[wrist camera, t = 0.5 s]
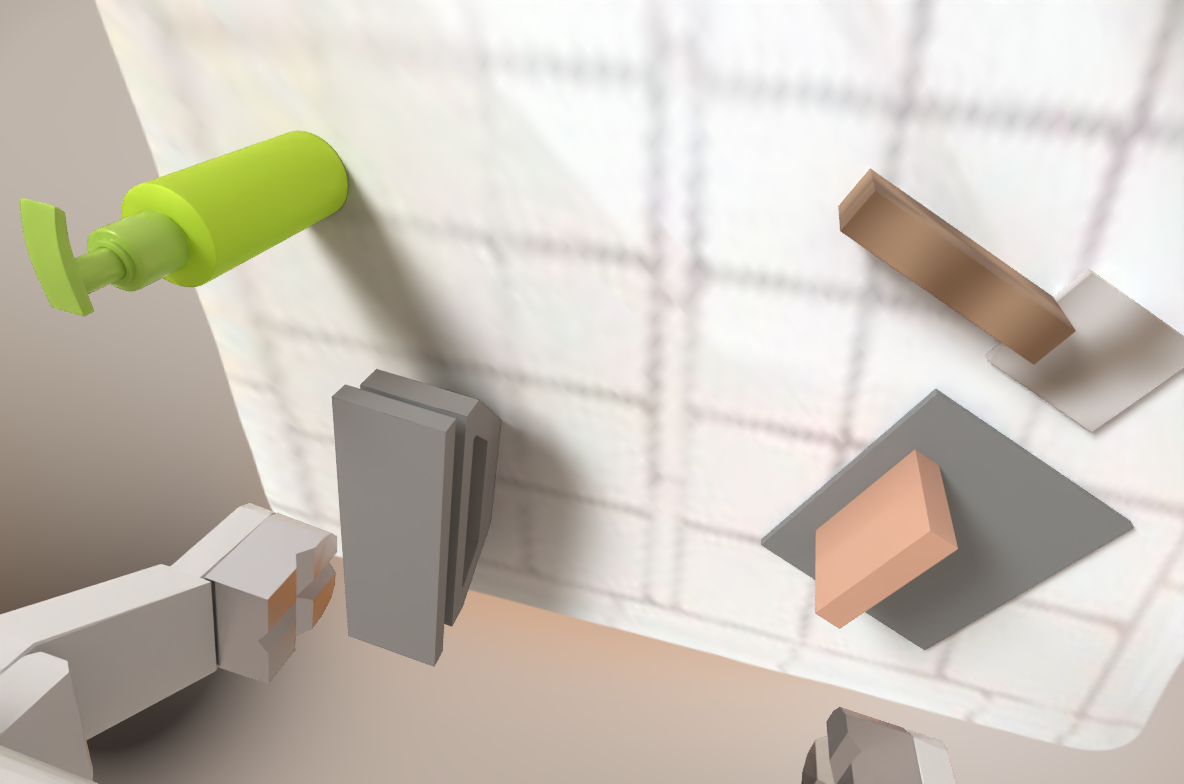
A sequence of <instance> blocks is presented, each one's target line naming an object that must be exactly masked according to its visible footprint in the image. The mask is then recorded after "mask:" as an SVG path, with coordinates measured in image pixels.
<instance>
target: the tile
mask: <svg viewBox="0 0 1184 784" xmlns="http://www.w3.org/2000/svg"><path fill="white" fill-rule="evenodd" d="M957 549H958V546H957V542H956V537H955V533H954V529H953V524H952V520H951V516H950V511H949V507H948V502H947V498H946V494H945V489H944V485H943V481H942V476H941V472H940V467H939V465H938V464H936V463H935V462H933V461H932V460H930V459H929V458H927V457H926V456H924V455H923V454H921V453H920V452H918V451H917V450H914V451H912V452H911V453H910V454H909V455H907V456H906V457H905V458H904V459H903V460H901V461H900V462H899V463H898V464H896V465H895V466H894V467H893V468H892V469H890V470H889V471H888V472H887V473H885V474H884V475H883V476H882V477H881V478H879V479H878V480H877V481H876V482H874V483H873V484H872V485H871V486H870V487H868V488H867V489H866V490H865V491H863V492H862V493H861V494H860V495H859V496H857V497H856V498H855V499H854V500H852V501H851V502H850V503H849V504H848V505H846V506H845V507H844V508H843V509H841V510H840V511H839V512H838V513H837V514H835V515H834V516H833V517H832V518H830V519H829V520H828V521H827V522H826V523H824V524H823V525H822V526H821V527H819V528H818V529H817V530H816V559H815V613H816V614H817V615H819V616H820V617H822V618H823V619H825V620H827V621H828V622H830V623H831V624H833V625H834V626H836V627H837V628H839V629H840V628H842V627H843V626H845V625H846V624H848V623H849V622H851V621H852V620H854V619H855V618H856V617H858V616H859V615H861V614H862V613H864V612H865V611H867V610H868V609H870V608H871V607H873V606H874V605H876V604H877V603H879V602H880V601H882V600H883V599H885V598H886V597H888V596H889V595H891V594H892V593H894V592H895V591H897V590H898V589H899V588H901V587H902V586H904V585H905V584H907V583H908V582H910V581H911V580H913V579H914V578H916V577H917V576H919V575H920V574H922V573H923V572H925V571H926V570H928V569H929V568H931V567H932V566H934V565H935V564H937V563H938V562H940V561H941V560H942V559H944V558H945V557H947V556H948V555H950V554H951V553H953V552H954V551H956V550H957Z"/></svg>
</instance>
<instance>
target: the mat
mask: <svg viewBox="0 0 1184 784" xmlns="http://www.w3.org/2000/svg"><path fill="white" fill-rule="evenodd" d="M914 450H917V451H918V452H920V453H921V454H923V455H924V456H926V457H927V458H929V459H930V460H932V461H933V462H935V463H936V464H938V465H939V467H940V472H941V476H942V481H943V485H944V489H945V494H946V498H947V502H948V507H949V511H950V516H951V520H952V524H953V529H954V533H955V537H956V542H957V546H958V549H957V550H956V551H954V552H953V553H951V554H950V555H948V556H947V557H945V558H944V559H942V560H941V561H940V562H938V563H937V564H935V565H934V566H932V567H931V568H929V569H928V570H926V571H925V572H923V573H922V574H920V575H919V576H917V577H916V578H914V579H913V580H911V581H910V582H908V583H907V584H905V585H904V586H902V587H901V588H899V589H898V590H897V591H895V592H894V593H892V594H891V595H889V596H888V597H886V598H885V599H883V600H882V601H880V602H879V603H877V604H876V605H874V606H873V607H871V608H870V609H868V610H867V611H865V612H866V613H868V614H869V615H871V616H872V617H874V618H875V619H877V620H878V621H880V622H882V623H883V624H885V625H886V626H888V627H889V628H891V629H892V630H894V631H896V632H897V633H899V634H900V635H902V636H903V637H905V638H906V639H908V640H910V641H911V642H913V643H914V644H916V645H917V646H919V647H920V648H922V649H923V650H926V649H928V648H929V647H931V646H933V645H934V644H936V643H938V642H940V641H941V640H943V639H945V638H946V637H948V636H950V635H951V634H953V633H955V632H957V631H958V630H960V629H962V628H963V627H965V626H967V625H968V624H970V623H972V622H974V621H975V620H977V619H979V618H980V617H982V616H984V615H985V614H987V613H989V612H991V611H992V610H994V609H996V608H997V607H999V606H1001V605H1002V604H1004V603H1006V602H1008V601H1009V600H1011V599H1013V598H1014V597H1016V596H1018V595H1019V594H1021V593H1023V592H1025V591H1026V590H1028V589H1030V588H1031V587H1033V586H1035V585H1036V584H1038V583H1040V582H1042V581H1043V580H1045V579H1047V578H1048V577H1050V576H1052V575H1053V574H1055V573H1057V572H1059V571H1060V570H1062V569H1064V568H1065V567H1067V566H1069V565H1071V564H1072V563H1074V562H1076V561H1077V560H1079V559H1081V558H1082V557H1084V556H1086V555H1088V554H1089V553H1091V552H1093V551H1094V550H1096V549H1098V548H1099V547H1101V546H1103V545H1105V544H1106V543H1108V542H1110V541H1111V540H1113V539H1115V538H1116V537H1118V536H1120V535H1122V534H1123V533H1125V532H1127V531H1128V530H1130V529H1132V528H1133V525H1132V523H1131V521H1129V520H1128V519H1127V518H1125V517H1124V516H1122V515H1121V514H1119V513H1118V512H1116V511H1115V510H1113V509H1112V508H1110V507H1109V506H1107V505H1106V504H1104V503H1103V502H1102V501H1100V500H1099V499H1097V498H1096V497H1094V496H1093V495H1091V494H1090V493H1088V492H1087V491H1085V490H1084V489H1082V488H1081V487H1079V486H1078V485H1076V484H1075V483H1074V482H1072V481H1071V480H1069V479H1068V478H1066V477H1065V476H1063V475H1062V474H1060V473H1059V472H1057V471H1056V470H1054V469H1053V468H1051V467H1050V466H1049V465H1047V464H1046V463H1044V462H1043V461H1041V460H1040V459H1038V458H1037V457H1035V456H1034V455H1032V454H1031V453H1029V452H1028V451H1026V450H1025V449H1024V448H1022V447H1021V446H1019V445H1018V444H1016V443H1015V442H1013V441H1012V440H1010V439H1009V438H1007V437H1006V436H1004V435H1003V434H1001V433H1000V432H998V431H997V430H996V429H994V428H993V427H991V426H990V425H988V424H987V423H985V422H984V421H982V420H981V419H979V418H978V417H976V416H975V415H973V414H972V413H971V412H969V411H968V410H966V409H965V408H963V407H962V406H960V405H959V404H957V403H956V402H954V401H953V400H951V399H950V398H948V397H947V396H946V395H944V394H943V393H941V392H940V391H938V390H937V389H935V390H934V391H933V392H931V393H930V394H929V395H928V396H927V397H926V398H925V399H923V400H922V401H921V402H920V403H919V404H918V405H916V406H915V407H914V408H913V409H912V410H911V411H910V412H908V413H907V414H906V415H905V416H904V417H903V418H901V419H900V420H899V421H898V422H897V423H896V424H895V425H893V426H892V427H891V428H890V429H889V430H888V431H886V432H885V433H884V434H883V435H882V436H881V437H879V438H878V439H877V440H876V441H875V442H874V443H873V444H871V445H870V446H869V447H868V448H867V449H866V450H864V451H863V452H862V453H861V454H860V455H859V456H858V457H856V458H855V459H854V460H853V461H852V462H851V463H849V464H848V465H847V466H846V467H845V468H844V469H843V470H841V471H840V472H839V473H838V474H837V475H836V476H834V477H833V478H832V479H831V480H830V481H829V482H827V483H826V484H825V485H824V486H823V487H822V488H821V489H819V490H818V491H817V492H816V493H815V494H814V495H812V496H811V497H810V498H809V499H808V500H807V501H806V502H804V503H803V504H802V505H801V506H800V507H799V508H797V509H796V510H795V511H794V512H793V513H792V514H791V515H789V516H788V517H787V518H786V519H785V520H784V521H782V522H781V523H780V524H779V525H778V526H777V527H775V528H774V529H773V530H772V531H771V532H770V533H769V534H767V535H766V536H765V537H764V538H763V539H762V540H761V545H762V546H764V547H765V548H767V549H768V550H770V551H771V552H773V553H775V554H776V555H778V556H779V557H781V558H782V559H784V560H785V561H787V562H789V563H790V564H792V565H793V566H795V567H796V568H798V569H799V570H801V571H802V572H804V573H806V574H807V575H809V576H810V577H812V578H813V579H815V559H816V530H817V529H818V528H819V527H821V526H822V525H823V524H824V523H826V522H827V521H828V520H829V519H830V518H832V517H833V516H834V515H835V514H837V513H838V512H839V511H840V510H841V509H843V508H844V507H845V506H846V505H848V504H849V503H850V502H851V501H852V500H854V499H855V498H856V497H857V496H859V495H860V494H861V493H862V492H863V491H865V490H866V489H867V488H868V487H870V486H871V485H872V484H873V483H874V482H876V481H877V480H878V479H879V478H881V477H882V476H883V475H884V474H885V473H887V472H888V471H889V470H890V469H892V468H893V467H894V466H895V465H896V464H898V463H899V462H900V461H901V460H903V459H904V458H905V457H906V456H907V455H909V454H910V453H911V452H912V451H914Z"/></svg>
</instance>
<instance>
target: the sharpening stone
mask: <svg viewBox="0 0 1184 784" xmlns="http://www.w3.org/2000/svg"><path fill="white" fill-rule="evenodd" d="M360 388H361V389H358V388H355V387H352V386H348V385H344V386H343V387H342V388H341V389H340V390H339V391H338V392H337V393H336V394H334V395H333V396H332V406H333V421H334V435H335V449H336V464H337V478H338V493H339V507H340V522H341V536H342V551H343V564H344V578H345V594H346V608H347V623H348V636H350V637H353V638H356V639H359V640H362V641H364V642H367V643H370V644H373V645H375V646H378V647H381V648H384V649H387V650H390V651H392V652H395V653H398V654H400V655H403V656H406V657H409V658H411V659H414V660H418V661H420V662H423V663H425V664H429V665H431V666H435V664H436V663H437V660H438V659H439V657H440V655H441V653H442V651H443V634H444V624H447V625H450V626H453V624H454V622H455V620H456V618H457V616H458V614H459V613H460V611H461V609H462V607H463V604H464V601H465V598H466V595H467V592H468V589H469V586H470V583H471V580H472V577H473V574H474V571H475V568H476V565H477V562H478V559H479V556H480V553H481V550H482V546H483V543H484V540H485V537H486V534H487V531H488V528H489V525H490V522H491V515H492V505H493V496H494V487H495V477H496V468H497V458H498V449H499V439H500V430H501V420H500V419H499V418H498V417H497V416H496V415H495V414H494V413H493V412H492V411H491V410H489V409H488V408H487V407H486V406H485V405H484V404H483V403H482V402H481V401H480V400H478V399H474V398H471V397H468V396H464V395H461V394H458V393H454V392H451V391H448V390H444V389H441V388H438V387H434V386H431V385H428V384H425V383H421V382H418V381H415V380H411V379H408V378H405V377H401V376H398V375H395V374H391V373H388V372H385V371H381V370H378V369H376V370H375V371H374V372H373V373H372V374H371V375H370V376H369V377H368V378H367V379H366V380H365V381H364V382H363V383H361V384H360Z"/></svg>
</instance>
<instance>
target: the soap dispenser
mask: <svg viewBox="0 0 1184 784" xmlns="http://www.w3.org/2000/svg"><path fill="white" fill-rule="evenodd" d="M347 193H348V180H347V175H346V171H345V168H344V166H343V164H342V162H341V160H340V158H339V156H338V155H337V153H336V152H335V151H334V150H333V148H332V147H331V146H330V145H329V144H328V143H326V142H325V141H324V140H323V139H321V138H320V137H318V136H316V135H314V134H312V133H309V132H305V131H292V132H289V133H286V134H283V135H280V136H277V137H274V138H271V139H269V140H266V141H263V142H260V143H257V144H254V145H251V146H249V147H246V148H243V149H240V150H237V151H234V152H231V153H228V154H226V155H223V156H220V157H217V158H214V159H211V160H208V161H205V162H203V163H200V164H197V165H194V166H191V167H188V168H185V169H182V170H180V171H177V172H174V173H171V174H168V175H165V176H162V177H159V178H157V179H154V180H151V181H148V182H145V183H142V184H140V185H137V186H135V187H133V188H131V189H130V190H129V191H128V192H127V194H126V195H125V197H124V200H123V203H122V210H121V215H122V219H121V220H119V221H116V222H114V223H111V224H108V225H106V226H103V227H101V228H98V229H96V230H94V231H93V232H92V233H91V234H90V235H89V237H88V241H87V250H88V253H86V254H84V255H82V256H79V257H77V258H74V256H73V253H72V250H71V246H70V242H69V238H68V232H67V226H66V217H65V212H64V211H62V210H61V209H59V208H57V207H55V206H53V205H49V204H44V203H41V202H37V201H33V200H28V199H24V198H21V199H20V210H21V219H22V228H23V233H24V238H25V243H26V246H27V250H28V253H29V256H30V259H31V262H32V265H33V267H34V270H35V272H36V274H37V277H38V279H39V281H40V283H41V286H42V288H43V290H44V292H45V294H46V296H47V298H48V300H49V302H50V304H51V306H52V308H56V309H59V310H64V311H67V312H70V313H74V314H78V315H81V316H86V315H88V314H90V313H92V312H94V309H93V306H92V304H91V302H90V299H89V296H88V294H90V293H92V292H94V291H96V290H98V289H100V288H102V287H105V286H106V285H109V284H112V285H114V286H115V287H117V288H119V289H122V290H126V291H136V290H139V289H142V288H144V287H146V286H148V285H150V284H151V283H153V282H156V281H158V280H160V279H161V278H164V279H165V280H167V281H169V282H171V283H173V284H176V285H180V286H184V287H197V286H201V285H203V284H205V283H207V282H209V281H211V280H212V279H214V278H216V277H218V276H220V275H222V274H223V273H225V272H227V271H229V270H231V269H233V268H234V267H236V266H238V265H240V264H242V263H244V262H245V261H247V260H249V259H251V258H253V257H255V256H256V255H258V254H260V253H262V252H264V251H266V250H267V249H269V248H271V247H273V246H275V245H277V244H278V243H280V242H282V241H284V240H286V239H288V238H289V237H291V236H293V235H295V234H297V233H298V232H300V231H302V230H304V229H306V228H308V227H309V226H311V225H313V224H315V223H317V222H319V221H320V220H322V219H324V218H326V217H328V216H330V215H331V214H333V213H335V212H337V211H338V210H339V209H340V208H341V207H342V206H343V204H344V202H345V200H346V197H347Z"/></svg>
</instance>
